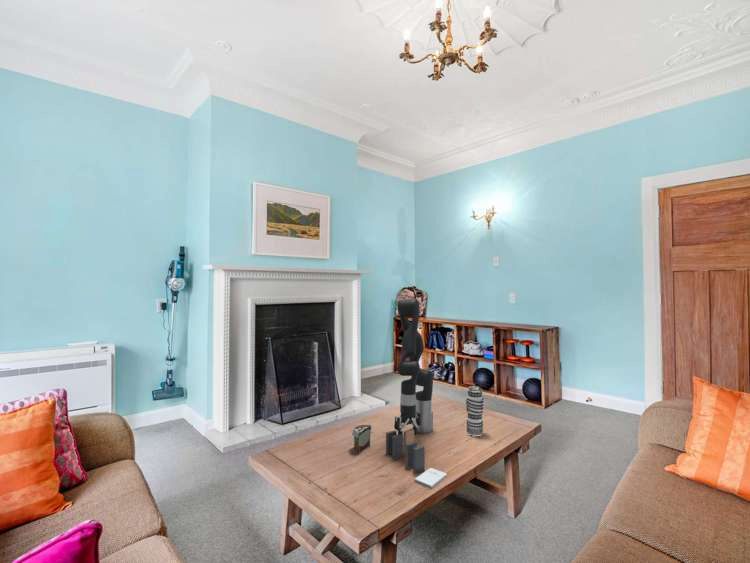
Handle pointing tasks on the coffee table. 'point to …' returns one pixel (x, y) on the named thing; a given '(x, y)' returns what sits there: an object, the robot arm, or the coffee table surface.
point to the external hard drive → (430, 478)
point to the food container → (361, 437)
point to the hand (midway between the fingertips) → (407, 436)
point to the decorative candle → (474, 411)
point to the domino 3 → (408, 437)
